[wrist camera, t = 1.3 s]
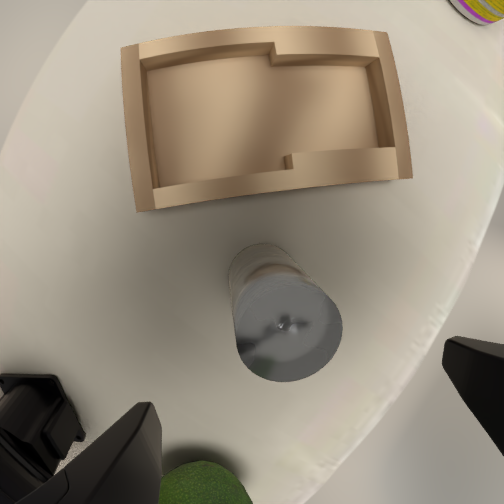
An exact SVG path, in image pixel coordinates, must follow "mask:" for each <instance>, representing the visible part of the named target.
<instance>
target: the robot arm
mask: <svg viewBox="0 0 504 504" xmlns="http://www.w3.org/2000/svg"><path fill="white" fill-rule="evenodd" d="M442 366H443V368H444V370H445V372H446V373H447V374H448V376H449V378H450V379H451V381H452V383H453V385H454V386H455V388H456V389H457V391H458V393H459V395H460V396H461V398H462V399H463V401H464V402H465V403H466V405H467V406H468V408H469V409H470V410H471V412H472V413H473V414H474V416H475V417H476V418H477V420H478V421H479V422H480V424H481V425H482V427H483V428H484V429H485V431H486V432H487V433H488V435H489V436H490V438H491V439H492V440H493V442H494V443H495V444H496V446H497V447H498V449H499V450H500V452H501V453H502V455H503V456H504V344H498V343H493V342H487V341H481V340H476V339H471V338H466V337H460V336H455V337H452V338H449V339H447V340H446V342H445V344H444V352H443V358H442ZM51 381H52V382H53V383H52V382H51ZM0 386H1V388H2V390H3V392H4V395H3V396H2V397H1V399H0V504H158V503H159V494H160V485H161V475H162V428H161V423H160V420H159V418H158V415H157V413H156V410H155V407H154V405H153V403H151V402H138V403H137V404H135V405H134V406H133V407H132V408H131V409H130V410H129V411H128V412H127V413H125V414H124V415H123V416H122V417H121V418H120V419H119V420H118V421H117V422H115V423H114V424H113V425H112V426H111V427H110V428H109V429H107V430H106V431H105V432H104V433H103V434H102V435H101V436H100V437H98V438H97V439H96V440H95V441H94V442H93V443H92V444H90V445H89V446H88V447H87V448H86V449H85V450H84V451H82V452H81V453H80V454H79V455H78V456H77V457H75V458H74V459H73V460H72V461H71V462H70V463H68V464H67V465H66V466H65V467H64V468H65V469H64V468H63V469H61V470H60V471H59V472H58V473H57V474H55V472H56V469H57V467H58V465H59V463H60V460H64V459H65V458H66V456H67V454H68V451H69V449H70V447H71V445H72V443H73V441H76V442H83V441H84V439H85V437H86V436H85V434H84V432H83V430H82V428H81V426H80V424H79V422H78V420H77V418H76V417H75V415H74V413H73V411H72V409H71V406H70V404H69V403H68V401H67V398H66V396H65V394H64V392H63V390H62V388H61V385H60V383H59V381H58V379H57V378H56V377H55V376H53V375H15V374H0ZM54 474H55V475H54Z"/></svg>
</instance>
